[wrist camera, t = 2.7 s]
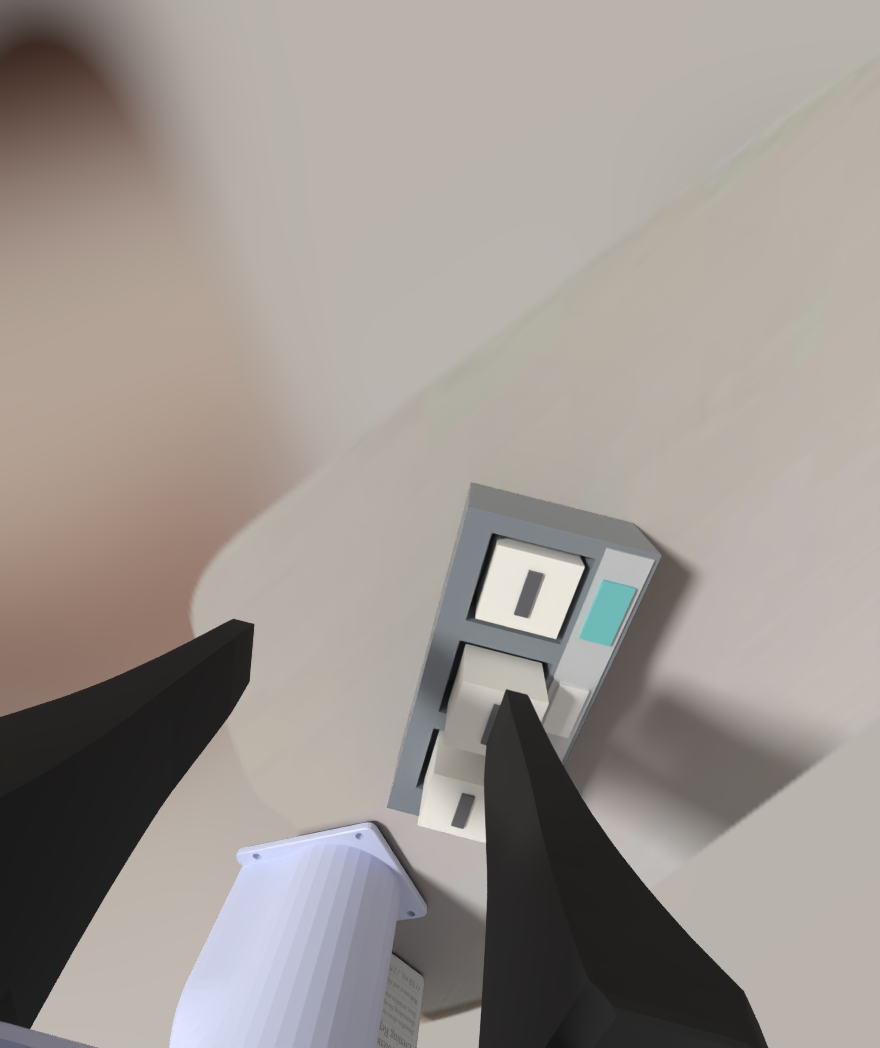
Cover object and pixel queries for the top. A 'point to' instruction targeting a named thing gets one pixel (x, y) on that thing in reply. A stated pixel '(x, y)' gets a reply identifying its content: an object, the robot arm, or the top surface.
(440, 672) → the console
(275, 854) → the robot arm
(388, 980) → the skincare box
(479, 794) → the button
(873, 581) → the top surface
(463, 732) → the button middle
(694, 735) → the top surface
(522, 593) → the button
